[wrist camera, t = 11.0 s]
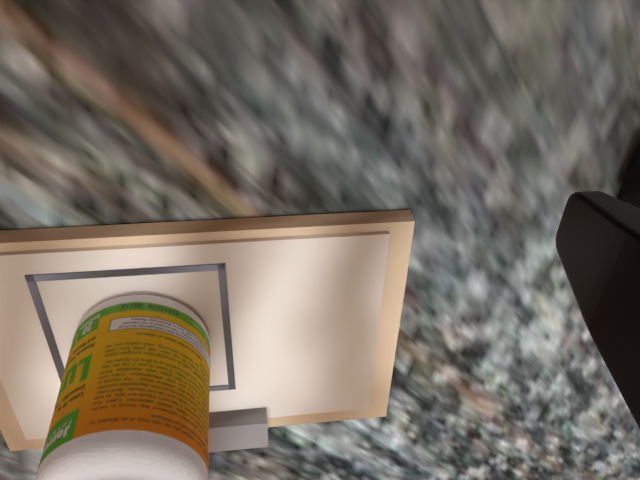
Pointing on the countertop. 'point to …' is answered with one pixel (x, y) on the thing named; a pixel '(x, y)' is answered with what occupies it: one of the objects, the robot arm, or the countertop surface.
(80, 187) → the countertop surface
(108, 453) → the supplement bottle
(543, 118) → the countertop surface
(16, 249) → the beige rectangular board
